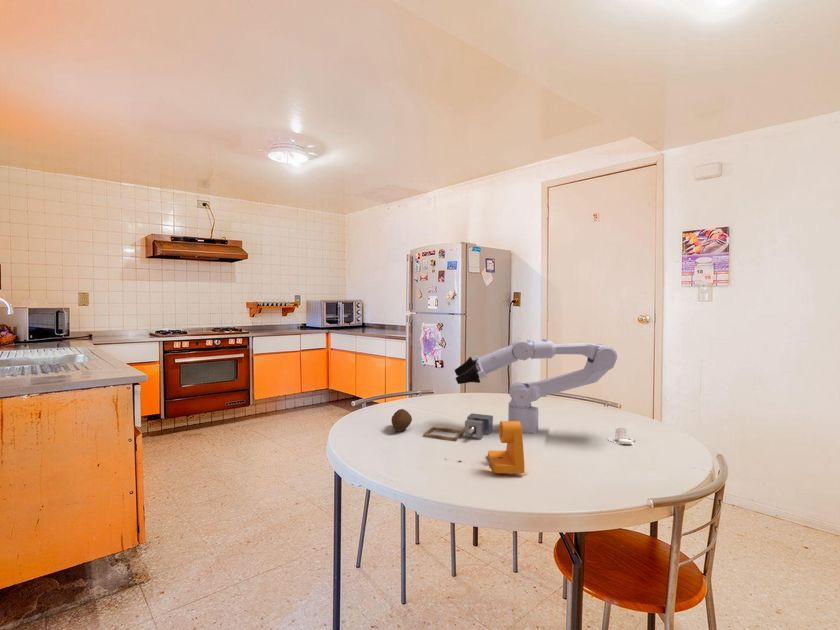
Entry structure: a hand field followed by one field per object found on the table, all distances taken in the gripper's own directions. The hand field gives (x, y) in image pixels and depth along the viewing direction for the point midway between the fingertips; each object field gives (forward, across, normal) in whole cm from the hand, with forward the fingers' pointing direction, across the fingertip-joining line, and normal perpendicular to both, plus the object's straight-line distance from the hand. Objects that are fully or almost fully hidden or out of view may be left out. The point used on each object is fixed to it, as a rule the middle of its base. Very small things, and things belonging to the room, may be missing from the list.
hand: (456, 376), depth 143 cm
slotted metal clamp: (+1, +14, +15) cm, 21 cm away
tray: (+10, +13, +12) cm, 20 cm away
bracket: (-5, +35, +15) cm, 38 cm away
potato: (+23, +4, +8) cm, 25 cm away
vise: (+1, +12, +17) cm, 21 cm away
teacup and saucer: (-37, +12, +35) cm, 52 cm away
